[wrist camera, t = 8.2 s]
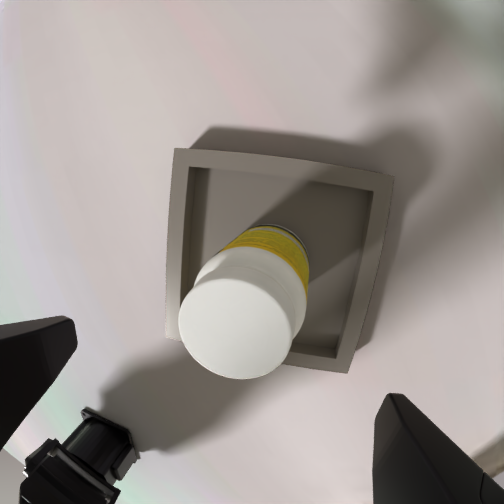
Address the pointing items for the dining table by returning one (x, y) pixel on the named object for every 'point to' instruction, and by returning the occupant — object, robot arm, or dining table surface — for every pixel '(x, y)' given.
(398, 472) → the robot arm
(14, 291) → the dining table surface
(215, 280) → the supplement bottle
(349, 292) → the tray
